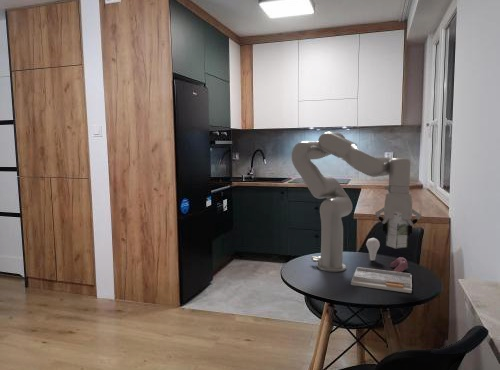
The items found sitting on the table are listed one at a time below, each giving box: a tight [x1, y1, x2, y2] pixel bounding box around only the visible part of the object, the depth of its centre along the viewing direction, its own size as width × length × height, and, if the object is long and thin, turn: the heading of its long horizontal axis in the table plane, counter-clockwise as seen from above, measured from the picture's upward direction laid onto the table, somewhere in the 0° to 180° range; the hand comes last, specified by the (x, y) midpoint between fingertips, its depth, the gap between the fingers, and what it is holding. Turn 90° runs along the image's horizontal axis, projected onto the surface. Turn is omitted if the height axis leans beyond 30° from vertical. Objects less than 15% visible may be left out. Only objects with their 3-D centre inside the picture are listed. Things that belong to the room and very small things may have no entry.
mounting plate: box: [350, 268, 413, 294], centre depth 151 cm, size 22×18×2 cm
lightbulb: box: [365, 237, 381, 262], centre depth 177 cm, size 6×6×11 cm
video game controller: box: [389, 256, 409, 272], centre depth 164 cm, size 10×5×7 cm, turn 169°
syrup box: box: [385, 212, 409, 250], centre depth 147 cm, size 6×6×14 cm
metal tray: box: [352, 266, 411, 287], centre depth 151 cm, size 21×13×1 cm, turn 67°
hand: (397, 233), depth 147 cm, fingers closed on syrup box, 8 cm apart
